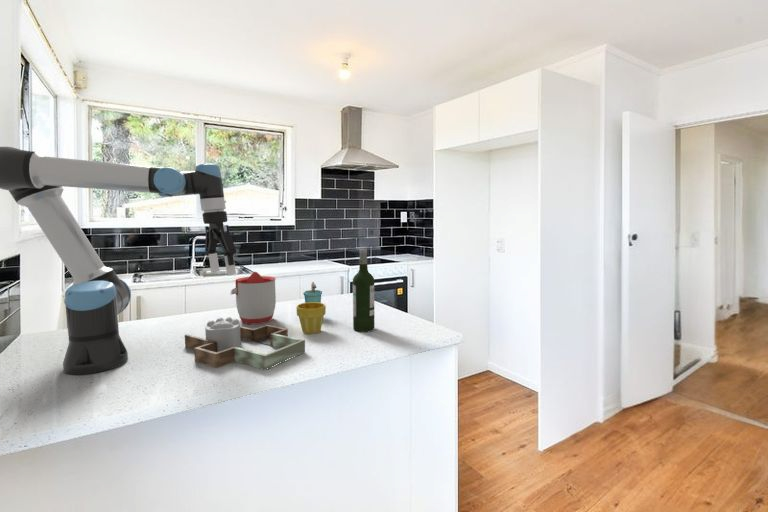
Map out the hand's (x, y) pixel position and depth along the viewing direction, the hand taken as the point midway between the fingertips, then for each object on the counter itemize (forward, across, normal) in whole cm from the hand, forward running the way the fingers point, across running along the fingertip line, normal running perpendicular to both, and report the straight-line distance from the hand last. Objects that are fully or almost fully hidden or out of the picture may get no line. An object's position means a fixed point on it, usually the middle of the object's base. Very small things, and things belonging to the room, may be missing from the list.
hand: (223, 273), depth 137 cm
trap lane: (+23, -16, +3) cm, 28 cm away
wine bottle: (+27, -26, -39) cm, 54 cm away
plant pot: (+25, -14, -23) cm, 37 cm away
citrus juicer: (+24, +14, -15) cm, 31 cm away
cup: (+26, +1, -35) cm, 43 cm away
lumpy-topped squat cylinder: (+23, -6, +6) cm, 24 cm away
